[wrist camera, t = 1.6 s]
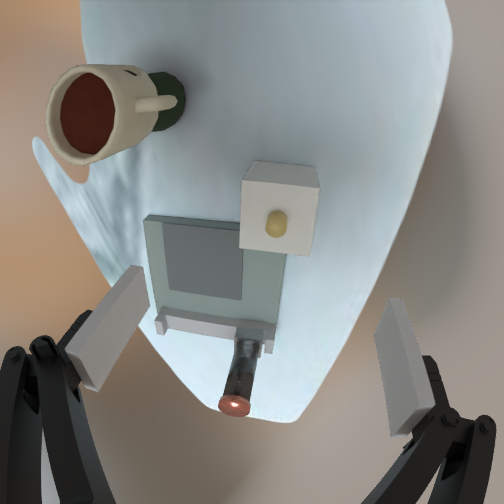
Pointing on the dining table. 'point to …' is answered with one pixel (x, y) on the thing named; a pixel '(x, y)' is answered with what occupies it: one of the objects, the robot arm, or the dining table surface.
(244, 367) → the lever
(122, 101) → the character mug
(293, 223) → the housing
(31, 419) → the robot arm
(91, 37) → the dining table surface
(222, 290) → the base plate
